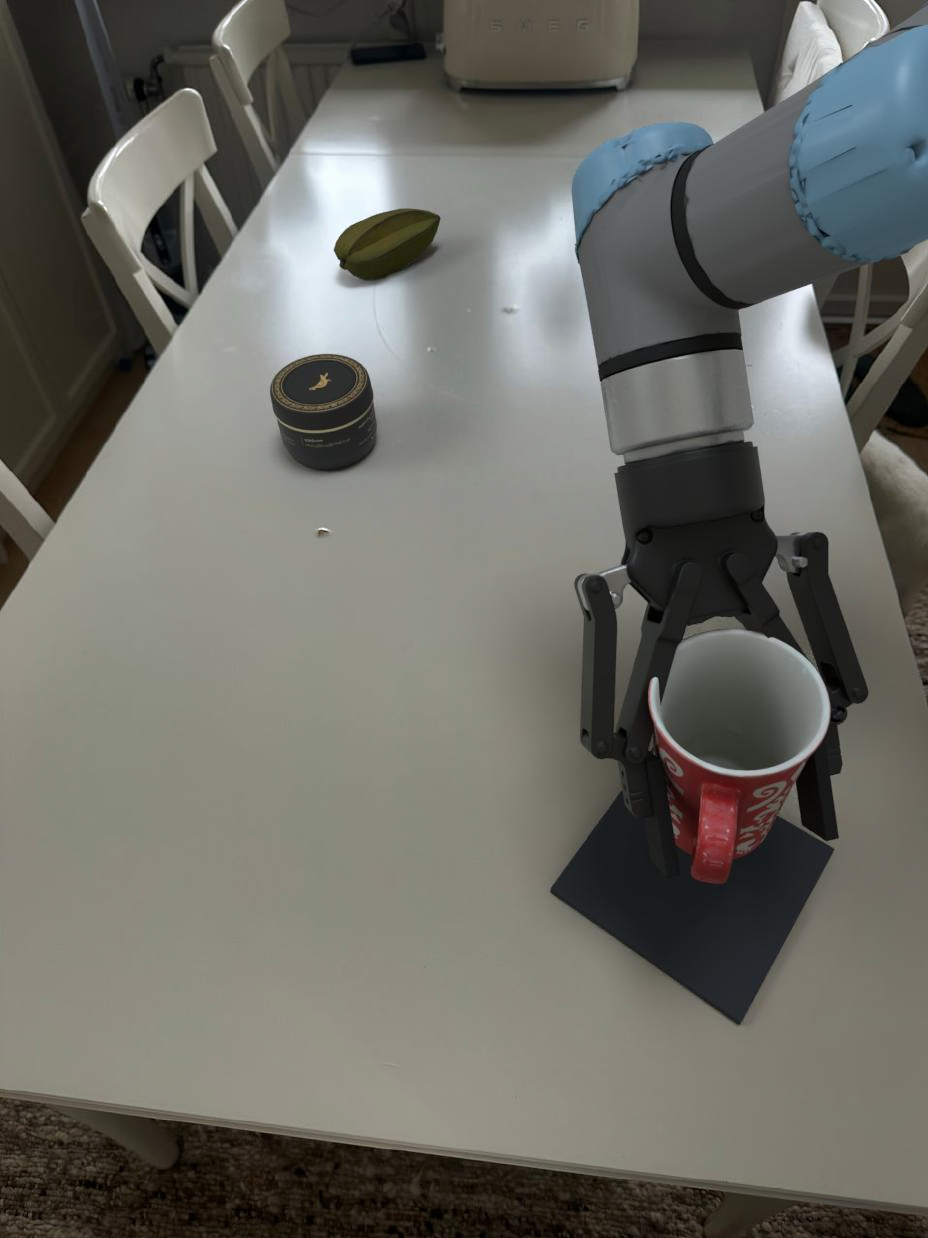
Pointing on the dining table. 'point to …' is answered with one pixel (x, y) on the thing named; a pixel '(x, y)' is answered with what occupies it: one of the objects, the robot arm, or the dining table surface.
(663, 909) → the mat
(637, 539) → the robot arm
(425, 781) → the dining table surface
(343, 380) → the jar
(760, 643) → the mug
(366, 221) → the fruit
